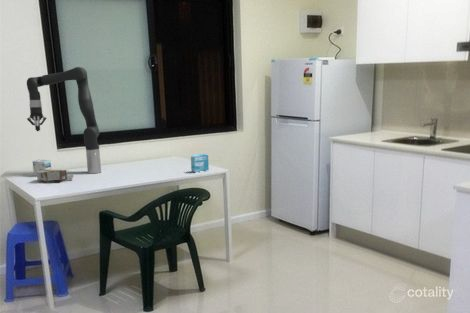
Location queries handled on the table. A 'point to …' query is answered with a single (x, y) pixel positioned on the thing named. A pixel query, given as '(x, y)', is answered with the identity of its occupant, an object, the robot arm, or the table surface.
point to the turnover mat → (69, 178)
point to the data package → (199, 163)
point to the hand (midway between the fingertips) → (37, 131)
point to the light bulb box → (41, 165)
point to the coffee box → (52, 175)
